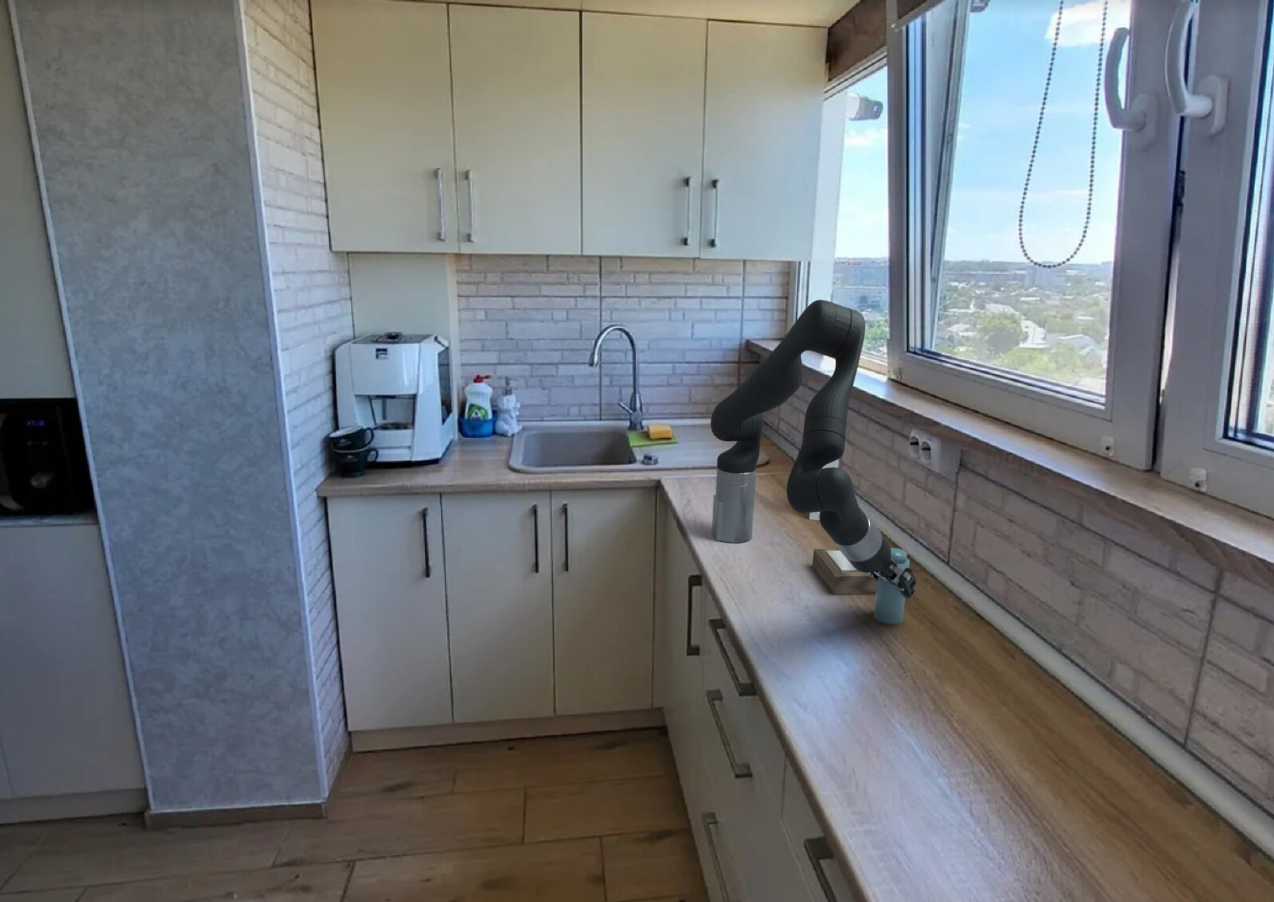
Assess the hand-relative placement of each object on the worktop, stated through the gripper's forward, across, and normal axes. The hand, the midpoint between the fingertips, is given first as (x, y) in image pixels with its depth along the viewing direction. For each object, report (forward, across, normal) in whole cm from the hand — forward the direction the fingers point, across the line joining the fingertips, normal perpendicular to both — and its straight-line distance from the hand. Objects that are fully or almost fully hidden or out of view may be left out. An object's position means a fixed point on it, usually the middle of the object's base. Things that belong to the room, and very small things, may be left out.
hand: (897, 588), depth 140 cm
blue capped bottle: (+3, 0, +5) cm, 6 cm away
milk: (+24, +45, -16) cm, 54 cm away
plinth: (+8, +15, 0) cm, 17 cm away
